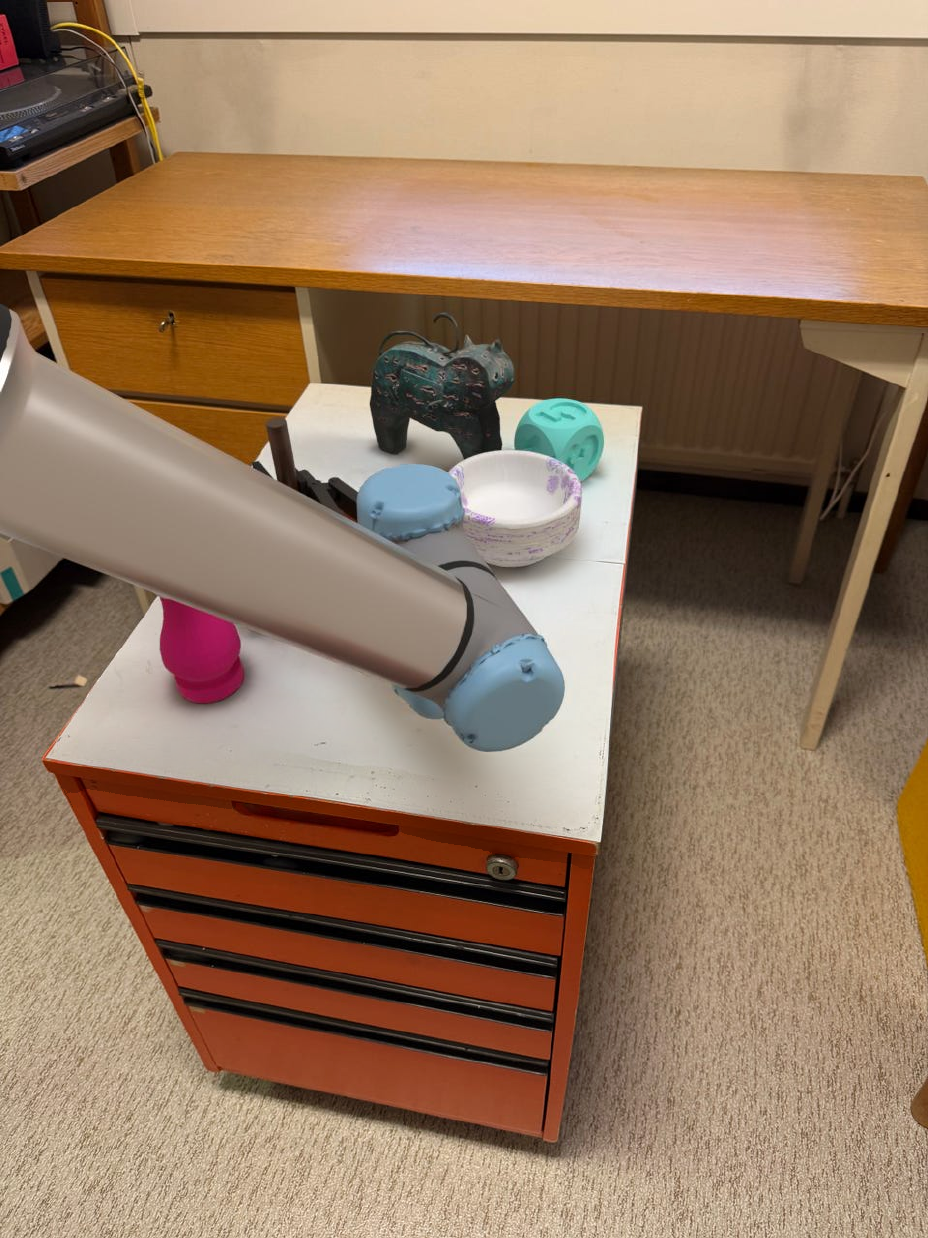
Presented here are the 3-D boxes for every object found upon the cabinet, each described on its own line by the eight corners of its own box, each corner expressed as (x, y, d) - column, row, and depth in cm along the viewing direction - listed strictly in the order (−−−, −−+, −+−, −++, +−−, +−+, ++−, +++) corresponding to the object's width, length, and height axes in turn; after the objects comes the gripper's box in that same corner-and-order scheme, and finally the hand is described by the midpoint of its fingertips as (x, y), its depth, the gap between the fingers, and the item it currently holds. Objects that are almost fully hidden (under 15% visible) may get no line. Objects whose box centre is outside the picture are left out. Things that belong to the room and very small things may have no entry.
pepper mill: (157, 696, 83) (91, 522, 70) (201, 647, 88) (147, 476, 75) (221, 716, 81) (165, 539, 68) (263, 664, 86) (218, 491, 73)
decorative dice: (512, 469, 112) (513, 412, 106) (558, 447, 115) (560, 391, 110) (556, 495, 107) (559, 436, 102) (602, 471, 111) (607, 413, 105)
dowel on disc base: (279, 592, 93) (246, 441, 82) (274, 559, 98) (242, 412, 86) (335, 581, 94) (310, 431, 83) (328, 549, 99) (303, 403, 87)
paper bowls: (607, 547, 99) (612, 487, 93) (501, 603, 92) (501, 541, 87) (519, 490, 108) (519, 433, 103) (418, 537, 101) (413, 478, 96)
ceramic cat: (517, 475, 111) (518, 319, 98) (488, 499, 107) (485, 341, 94) (395, 433, 120) (380, 286, 107) (364, 454, 116) (345, 304, 103)
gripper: (296, 648, 77) (208, 521, 93) (444, 588, 83) (338, 477, 98) (281, 581, 72) (192, 458, 88) (440, 522, 78) (329, 417, 94)
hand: (269, 469), depth 93 cm, fingers closed on dowel on disc base, 2 cm apart
